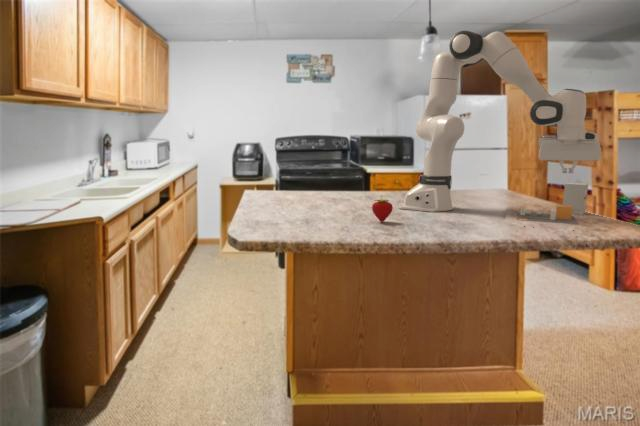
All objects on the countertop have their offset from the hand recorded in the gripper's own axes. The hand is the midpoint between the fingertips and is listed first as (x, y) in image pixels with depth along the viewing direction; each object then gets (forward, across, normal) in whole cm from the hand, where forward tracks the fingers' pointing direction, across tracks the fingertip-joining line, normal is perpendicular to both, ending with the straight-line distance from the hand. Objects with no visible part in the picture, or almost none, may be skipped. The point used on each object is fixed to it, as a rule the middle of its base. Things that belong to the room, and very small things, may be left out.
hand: (567, 173), depth 179 cm
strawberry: (+17, -62, -28) cm, 70 cm away
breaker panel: (+18, -6, -3) cm, 19 cm away
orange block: (+17, 0, 0) cm, 17 cm away
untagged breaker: (+16, -14, 0) cm, 22 cm away
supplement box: (+18, +5, +14) cm, 23 cm away
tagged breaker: (+17, -4, -6) cm, 18 cm away
